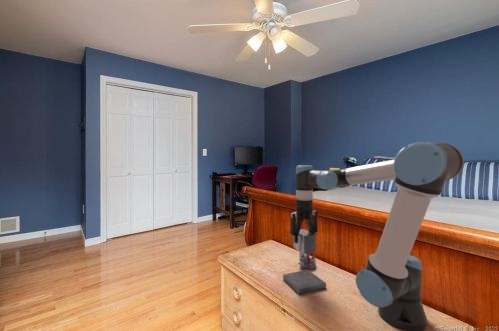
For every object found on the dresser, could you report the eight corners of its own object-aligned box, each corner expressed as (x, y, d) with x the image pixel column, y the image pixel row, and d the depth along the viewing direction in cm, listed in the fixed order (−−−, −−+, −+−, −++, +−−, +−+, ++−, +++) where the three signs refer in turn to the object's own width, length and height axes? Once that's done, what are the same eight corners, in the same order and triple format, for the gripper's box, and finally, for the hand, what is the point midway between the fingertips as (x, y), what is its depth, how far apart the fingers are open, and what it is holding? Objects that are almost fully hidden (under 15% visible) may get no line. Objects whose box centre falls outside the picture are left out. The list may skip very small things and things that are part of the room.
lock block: (315, 252, 109) (315, 234, 109) (304, 254, 107) (304, 236, 106) (304, 245, 117) (304, 229, 117) (293, 247, 115) (293, 230, 115)
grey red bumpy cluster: (319, 268, 124) (306, 249, 126) (303, 277, 126) (290, 259, 128) (320, 259, 134) (307, 242, 136) (305, 268, 137) (292, 251, 139)
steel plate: (326, 288, 109) (326, 283, 109) (299, 295, 104) (299, 289, 104) (307, 274, 122) (307, 269, 122) (283, 279, 117) (283, 274, 117)
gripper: (316, 196, 118) (316, 243, 119) (281, 199, 111) (281, 248, 112) (326, 198, 111) (326, 248, 112) (290, 201, 104) (290, 254, 105)
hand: (303, 248), depth 112 cm, fingers closed on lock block, 6 cm apart
